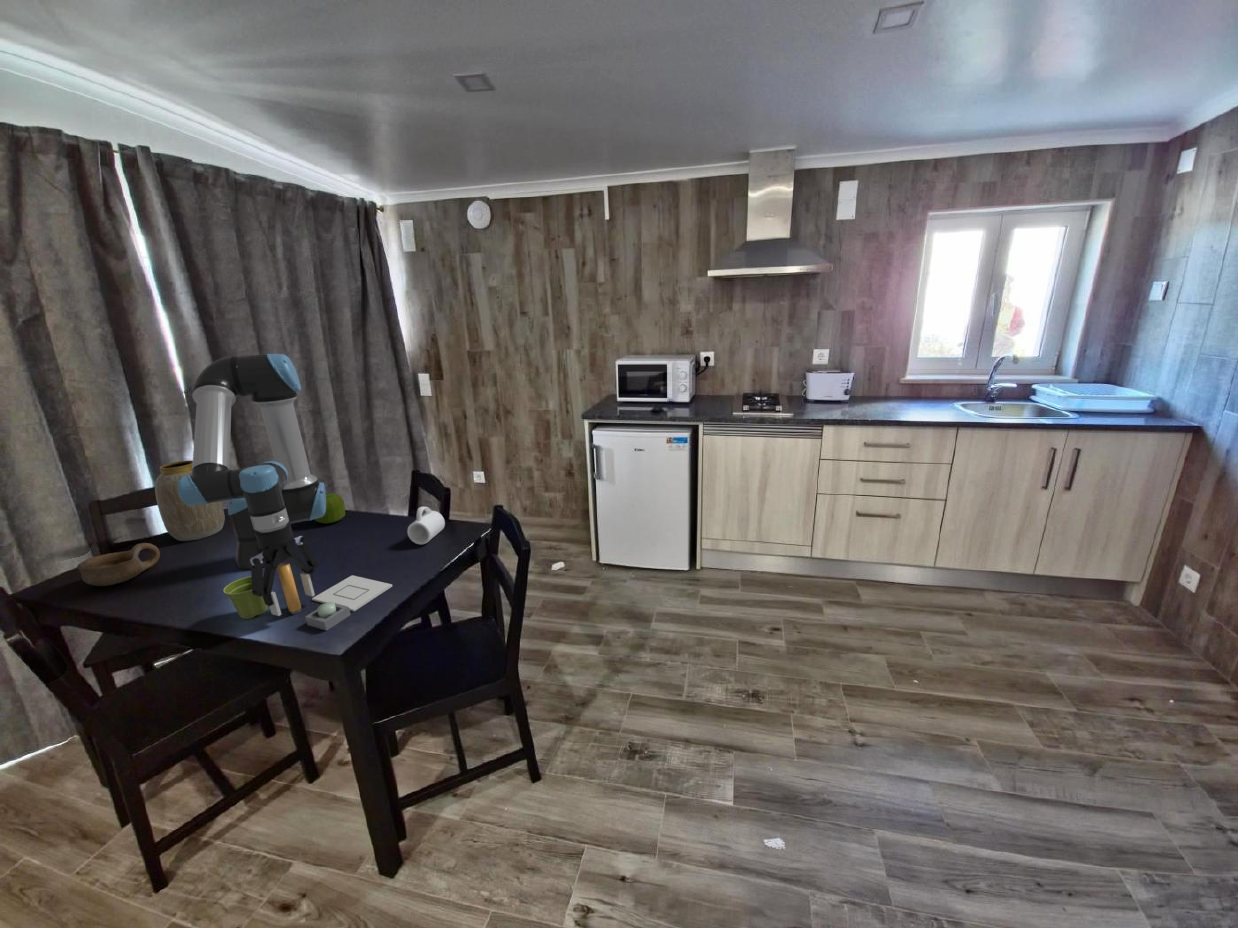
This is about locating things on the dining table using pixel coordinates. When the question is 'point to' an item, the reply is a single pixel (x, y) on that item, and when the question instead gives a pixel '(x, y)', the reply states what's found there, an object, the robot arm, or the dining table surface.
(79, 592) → the dining table surface
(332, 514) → the apple
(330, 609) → the button
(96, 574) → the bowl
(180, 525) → the vase
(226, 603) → the dining table surface
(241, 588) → the plant pot
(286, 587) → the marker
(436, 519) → the mug
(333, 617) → the button housing
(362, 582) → the sheet
